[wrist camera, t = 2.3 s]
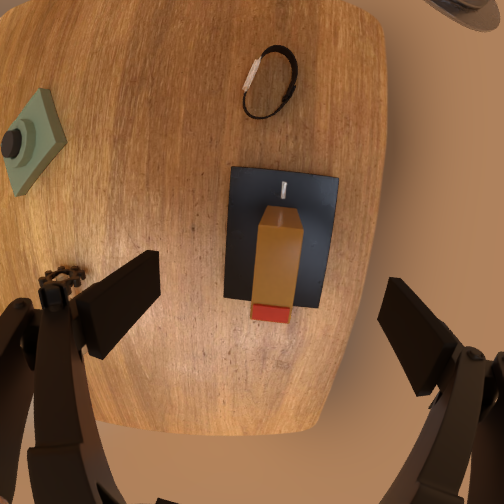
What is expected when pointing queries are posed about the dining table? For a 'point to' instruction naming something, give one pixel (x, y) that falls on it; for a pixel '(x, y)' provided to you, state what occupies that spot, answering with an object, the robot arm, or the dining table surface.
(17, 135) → the bell button
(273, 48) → the watch
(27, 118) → the doorbell
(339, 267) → the dining table surface
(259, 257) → the lock knob
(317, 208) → the plate
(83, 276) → the valve
